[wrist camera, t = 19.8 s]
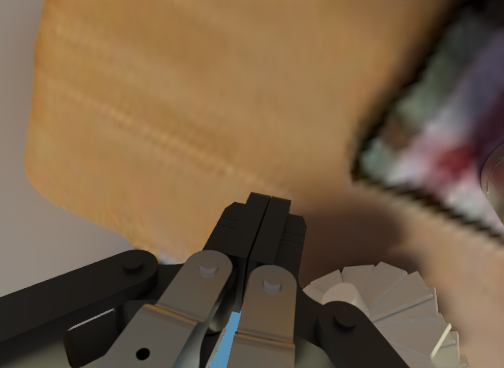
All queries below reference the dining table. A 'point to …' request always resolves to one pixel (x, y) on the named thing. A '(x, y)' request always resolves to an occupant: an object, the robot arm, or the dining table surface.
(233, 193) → the dining table surface
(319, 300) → the spiral staircase
